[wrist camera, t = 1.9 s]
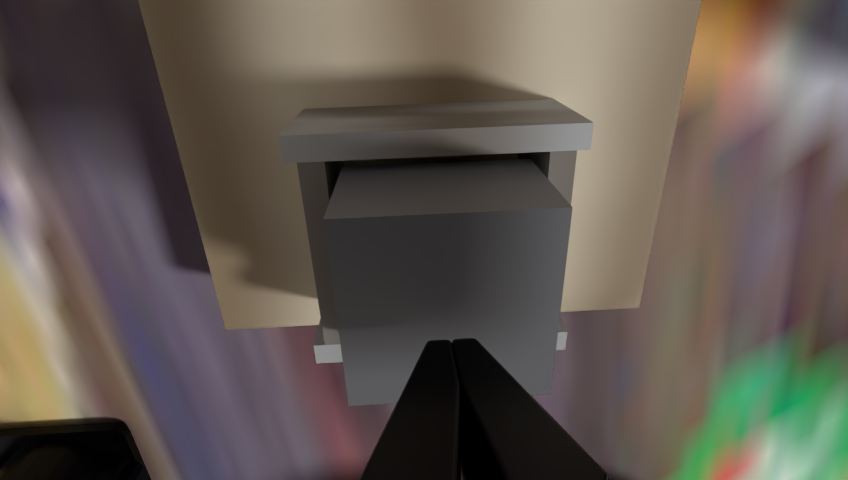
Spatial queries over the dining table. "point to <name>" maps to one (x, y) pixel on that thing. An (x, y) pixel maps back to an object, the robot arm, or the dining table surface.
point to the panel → (415, 126)
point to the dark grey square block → (445, 268)
